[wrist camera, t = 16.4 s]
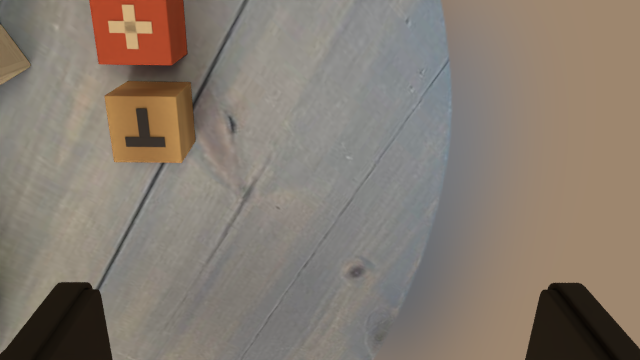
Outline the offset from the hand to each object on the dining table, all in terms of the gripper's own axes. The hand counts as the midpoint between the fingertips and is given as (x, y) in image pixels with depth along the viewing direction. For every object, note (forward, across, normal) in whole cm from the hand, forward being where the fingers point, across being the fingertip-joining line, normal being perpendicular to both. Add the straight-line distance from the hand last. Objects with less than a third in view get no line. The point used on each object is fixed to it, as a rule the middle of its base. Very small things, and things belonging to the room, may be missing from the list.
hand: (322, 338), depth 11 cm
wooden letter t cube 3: (+28, +11, +3) cm, 30 cm away
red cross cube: (+28, +11, -4) cm, 31 cm away
